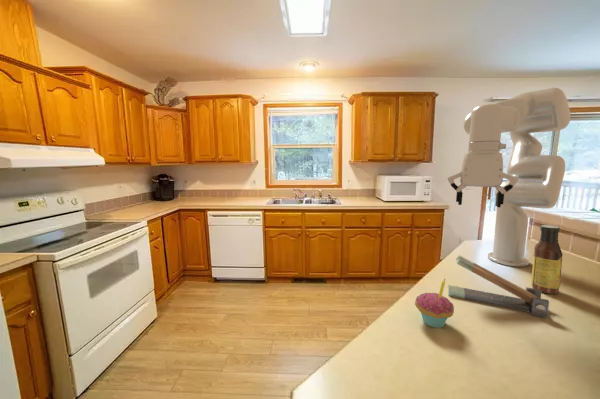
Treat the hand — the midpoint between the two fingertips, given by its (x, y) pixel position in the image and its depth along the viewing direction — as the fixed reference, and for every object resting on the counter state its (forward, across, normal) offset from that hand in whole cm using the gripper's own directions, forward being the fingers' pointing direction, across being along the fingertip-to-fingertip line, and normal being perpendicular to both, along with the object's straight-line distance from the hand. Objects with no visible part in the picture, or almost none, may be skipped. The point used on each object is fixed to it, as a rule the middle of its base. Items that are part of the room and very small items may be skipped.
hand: (478, 205), depth 77 cm
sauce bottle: (+26, -20, -7) cm, 33 cm away
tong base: (+26, -5, +8) cm, 28 cm away
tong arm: (+20, -4, +8) cm, 22 cm away
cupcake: (+27, +10, +25) cm, 39 cm away
